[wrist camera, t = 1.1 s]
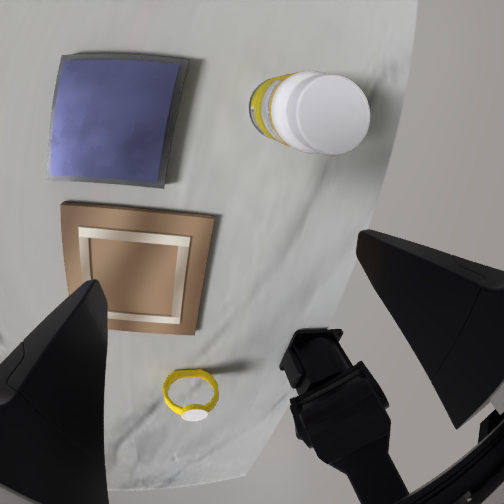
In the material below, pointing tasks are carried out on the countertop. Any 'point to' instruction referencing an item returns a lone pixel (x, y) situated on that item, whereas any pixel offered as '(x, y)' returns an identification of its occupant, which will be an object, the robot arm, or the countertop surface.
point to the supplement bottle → (311, 112)
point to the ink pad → (114, 118)
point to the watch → (194, 410)
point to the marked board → (139, 263)
